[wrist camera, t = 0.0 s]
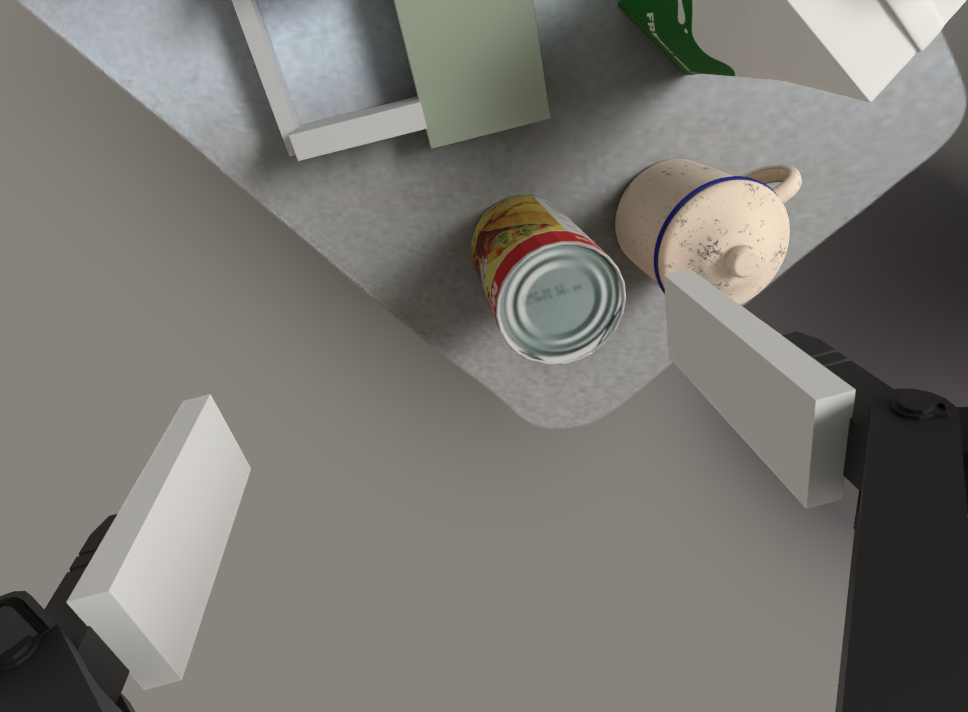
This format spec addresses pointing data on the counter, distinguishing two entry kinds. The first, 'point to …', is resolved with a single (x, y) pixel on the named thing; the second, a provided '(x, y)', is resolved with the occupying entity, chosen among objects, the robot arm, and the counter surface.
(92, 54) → the counter surface
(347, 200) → the counter surface
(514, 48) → the green panel with frame
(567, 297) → the canned food
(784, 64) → the milk carton
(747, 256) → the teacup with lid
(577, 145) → the counter surface
